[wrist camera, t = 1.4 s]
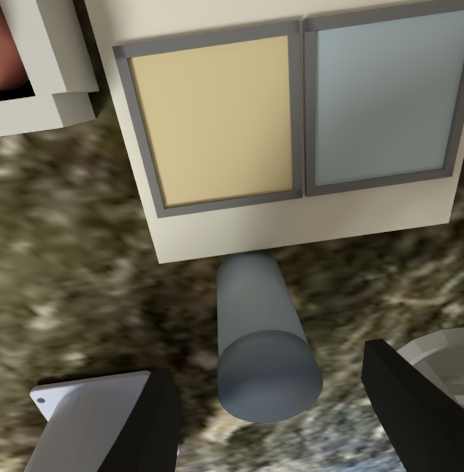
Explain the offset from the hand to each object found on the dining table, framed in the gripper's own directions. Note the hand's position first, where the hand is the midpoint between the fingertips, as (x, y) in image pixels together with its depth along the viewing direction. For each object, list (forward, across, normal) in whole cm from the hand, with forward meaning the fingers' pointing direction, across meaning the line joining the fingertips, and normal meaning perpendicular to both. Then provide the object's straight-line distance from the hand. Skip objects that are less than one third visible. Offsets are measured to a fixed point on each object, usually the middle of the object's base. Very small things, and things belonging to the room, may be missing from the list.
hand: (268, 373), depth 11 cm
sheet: (+6, -3, -8) cm, 11 cm away
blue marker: (+6, 0, 0) cm, 6 cm away
